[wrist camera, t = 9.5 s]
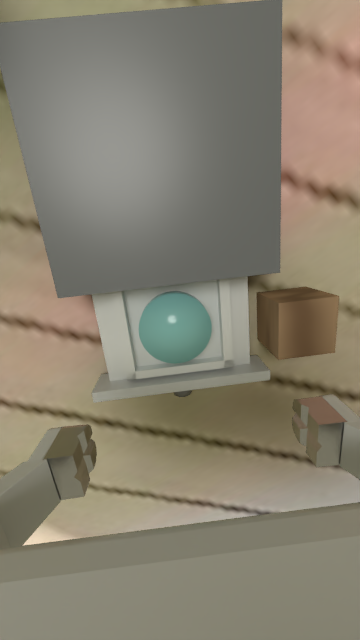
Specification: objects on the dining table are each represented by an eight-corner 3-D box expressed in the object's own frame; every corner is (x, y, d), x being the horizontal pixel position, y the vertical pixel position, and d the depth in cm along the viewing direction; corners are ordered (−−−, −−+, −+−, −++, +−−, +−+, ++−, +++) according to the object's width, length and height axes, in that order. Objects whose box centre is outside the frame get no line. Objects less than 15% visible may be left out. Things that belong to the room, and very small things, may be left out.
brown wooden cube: (305, 286, 25) (339, 296, 20) (304, 333, 27) (334, 352, 22) (256, 292, 25) (278, 303, 20) (257, 339, 26) (278, 359, 22)
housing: (252, 61, 20) (282, -2, 15) (256, 267, 24) (280, 272, 19) (34, 81, 19) (-11, 23, 14) (80, 287, 24) (58, 298, 19)
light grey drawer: (253, 205, 23) (269, 198, 19) (257, 371, 27) (270, 389, 24) (68, 225, 22) (50, 221, 19) (104, 391, 27) (96, 411, 23)
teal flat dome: (205, 286, 23) (208, 289, 21) (211, 351, 24) (214, 358, 23) (135, 295, 22) (133, 298, 21) (145, 360, 24) (144, 367, 23)
